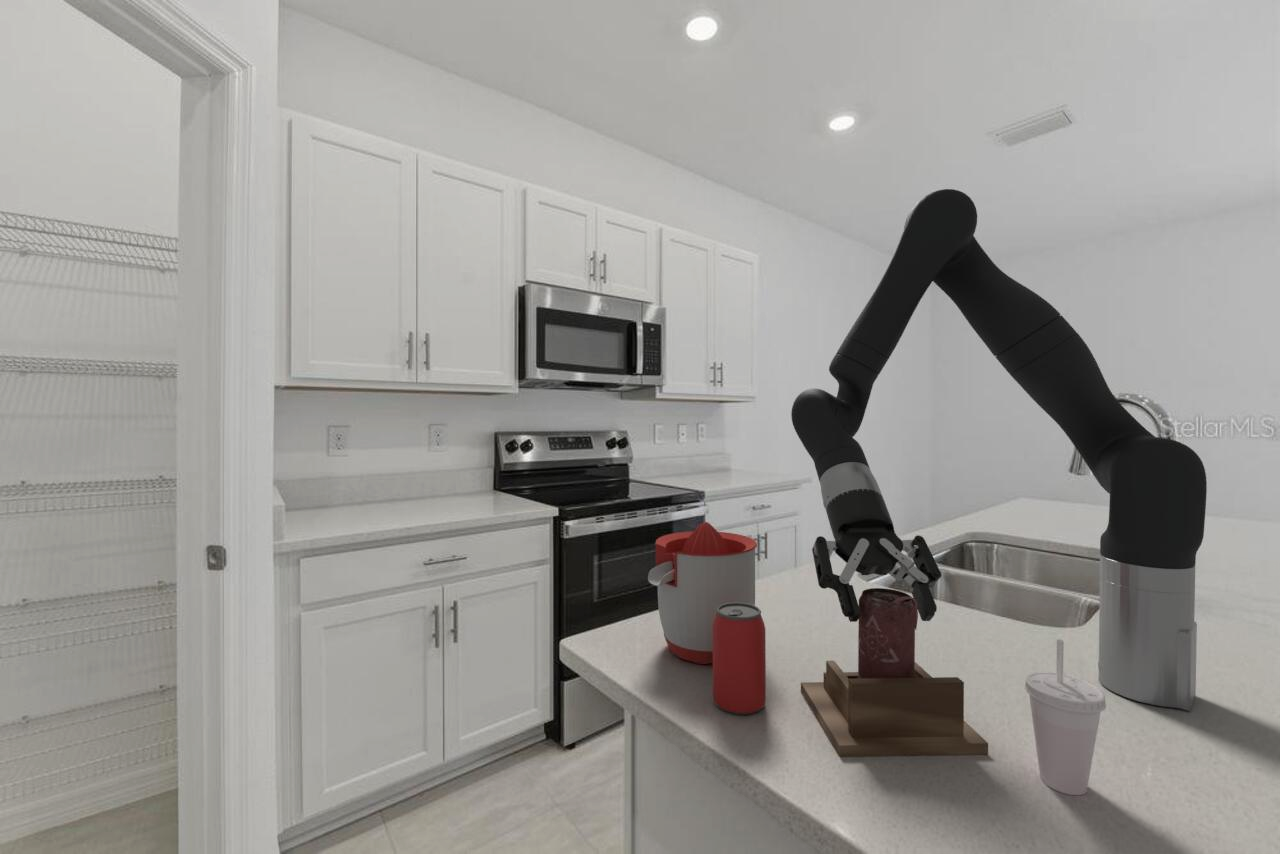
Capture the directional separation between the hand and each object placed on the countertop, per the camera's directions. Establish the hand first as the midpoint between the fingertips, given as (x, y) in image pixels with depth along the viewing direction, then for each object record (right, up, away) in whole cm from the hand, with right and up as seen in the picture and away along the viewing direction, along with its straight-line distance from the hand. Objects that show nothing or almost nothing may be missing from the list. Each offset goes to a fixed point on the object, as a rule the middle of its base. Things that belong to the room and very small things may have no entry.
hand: (892, 618), depth 65 cm
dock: (0, -13, +2) cm, 13 cm away
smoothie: (+13, -13, -9) cm, 21 cm away
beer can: (-17, -13, +6) cm, 22 cm away
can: (0, -12, +2) cm, 12 cm away
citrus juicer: (-20, -13, +22) cm, 32 cm away
